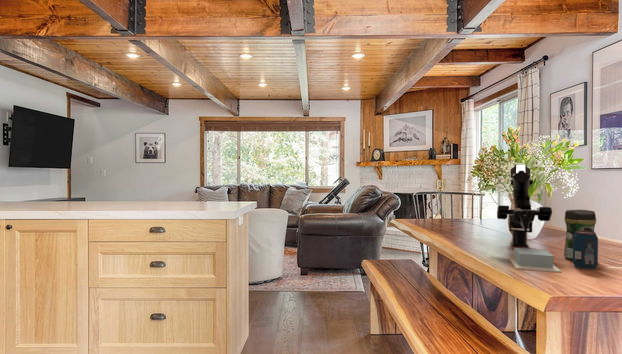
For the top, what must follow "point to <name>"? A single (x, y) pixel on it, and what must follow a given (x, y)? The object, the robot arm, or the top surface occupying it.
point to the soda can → (585, 250)
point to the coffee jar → (577, 227)
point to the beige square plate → (535, 267)
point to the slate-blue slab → (533, 257)
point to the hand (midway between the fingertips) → (525, 230)
